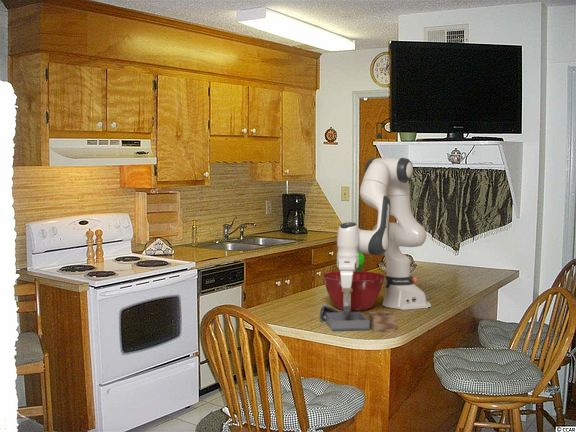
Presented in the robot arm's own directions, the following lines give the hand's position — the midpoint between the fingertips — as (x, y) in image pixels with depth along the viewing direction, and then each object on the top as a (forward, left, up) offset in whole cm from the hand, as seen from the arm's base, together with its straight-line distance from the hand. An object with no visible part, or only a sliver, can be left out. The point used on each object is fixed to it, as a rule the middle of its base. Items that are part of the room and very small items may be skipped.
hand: (347, 296), depth 257 cm
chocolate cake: (+4, -12, -13) cm, 18 cm away
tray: (0, 0, -12) cm, 12 cm away
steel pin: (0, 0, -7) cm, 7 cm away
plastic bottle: (-20, -73, -13) cm, 77 cm away
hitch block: (-13, +6, -12) cm, 19 cm away
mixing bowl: (-10, -32, -13) cm, 36 cm away
